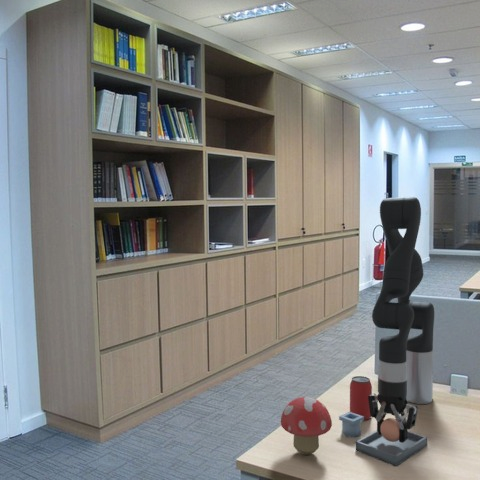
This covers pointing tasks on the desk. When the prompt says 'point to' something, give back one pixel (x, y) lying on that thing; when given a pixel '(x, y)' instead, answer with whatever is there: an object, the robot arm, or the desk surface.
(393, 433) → the ball
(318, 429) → the decorative mushroom
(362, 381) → the beer can
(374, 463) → the desk surface
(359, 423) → the square to round adapter
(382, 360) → the robot arm
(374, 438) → the tray
